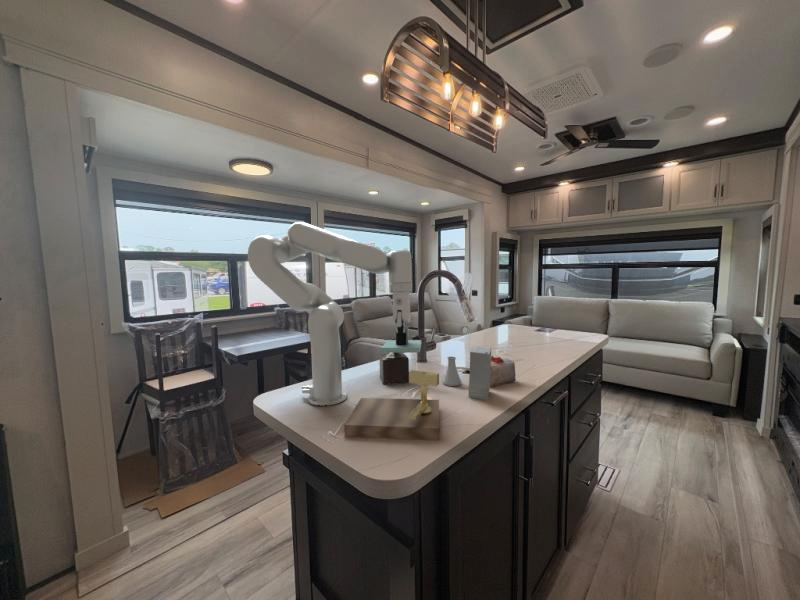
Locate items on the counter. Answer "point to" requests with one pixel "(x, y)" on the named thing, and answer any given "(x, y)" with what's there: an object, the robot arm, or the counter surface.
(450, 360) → the flask
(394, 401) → the base
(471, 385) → the skincare box
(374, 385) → the counter surface
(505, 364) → the food item
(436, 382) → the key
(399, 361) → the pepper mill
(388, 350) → the cover
